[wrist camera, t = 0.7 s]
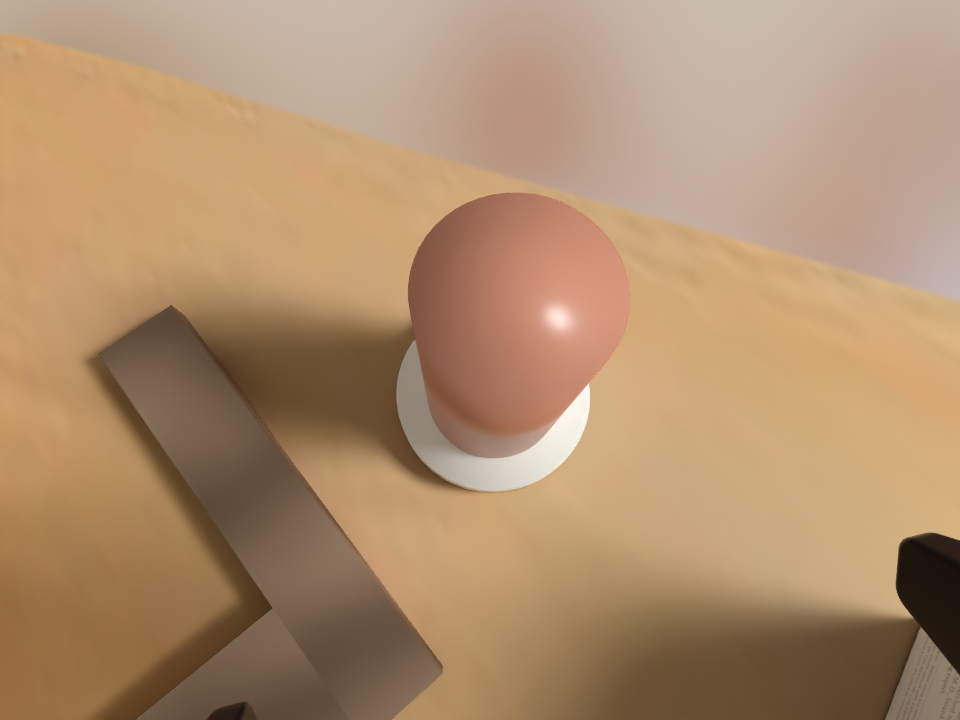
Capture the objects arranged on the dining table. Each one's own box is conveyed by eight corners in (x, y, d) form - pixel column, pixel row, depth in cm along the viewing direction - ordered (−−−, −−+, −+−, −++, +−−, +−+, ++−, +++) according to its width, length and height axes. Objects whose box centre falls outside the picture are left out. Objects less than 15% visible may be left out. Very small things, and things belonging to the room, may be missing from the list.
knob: (541, 525, 22) (614, 510, 12) (366, 444, 23) (296, 367, 13) (609, 355, 24) (721, 221, 14) (446, 285, 25) (441, 107, 14)
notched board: (443, 666, 21) (442, 673, 19) (-38, 1097, 17) (-73, 1137, 16) (185, 316, 24) (171, 305, 23) (-266, 619, 20) (-309, 623, 19)
